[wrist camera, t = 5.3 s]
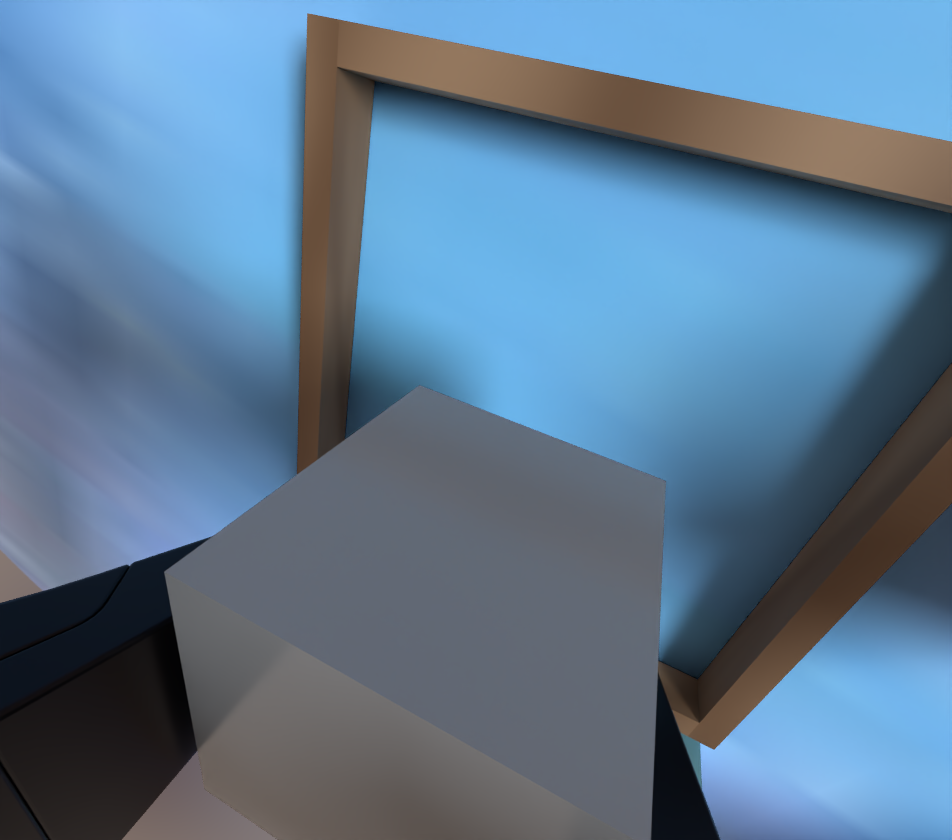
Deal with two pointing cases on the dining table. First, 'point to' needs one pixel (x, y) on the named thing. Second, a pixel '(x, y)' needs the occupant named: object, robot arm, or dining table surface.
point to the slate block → (432, 638)
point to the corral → (666, 125)
